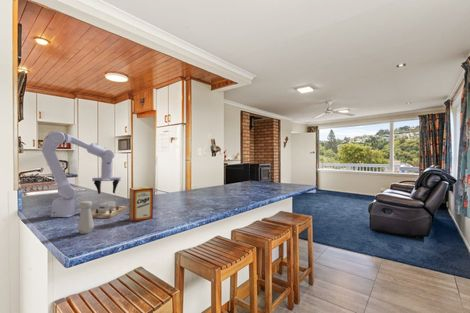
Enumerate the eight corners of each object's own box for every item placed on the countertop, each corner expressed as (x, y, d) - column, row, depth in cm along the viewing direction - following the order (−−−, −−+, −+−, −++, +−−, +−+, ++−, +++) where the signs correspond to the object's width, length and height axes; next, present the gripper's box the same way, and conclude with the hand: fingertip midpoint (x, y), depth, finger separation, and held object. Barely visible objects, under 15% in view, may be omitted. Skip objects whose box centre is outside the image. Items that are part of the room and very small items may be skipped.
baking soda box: (133, 221, 109) (133, 189, 108) (129, 218, 113) (129, 187, 113) (152, 218, 115) (153, 187, 115) (148, 215, 120) (148, 185, 120)
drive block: (97, 214, 117) (97, 204, 117) (108, 209, 126) (108, 200, 126) (105, 214, 117) (105, 204, 117) (115, 209, 126) (115, 201, 126)
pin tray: (85, 217, 114) (85, 211, 114) (105, 209, 131) (105, 204, 131) (110, 218, 114) (110, 212, 114) (127, 209, 131) (127, 204, 131)
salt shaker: (82, 230, 96) (83, 199, 96) (96, 229, 96) (97, 199, 96) (74, 234, 90) (74, 202, 90) (89, 234, 91) (89, 202, 91)
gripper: (90, 170, 125) (90, 194, 126) (119, 170, 129) (118, 194, 130) (94, 169, 132) (94, 192, 132) (121, 169, 136) (121, 192, 136)
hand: (106, 193), depth 131 cm, fingers open, 7 cm apart
